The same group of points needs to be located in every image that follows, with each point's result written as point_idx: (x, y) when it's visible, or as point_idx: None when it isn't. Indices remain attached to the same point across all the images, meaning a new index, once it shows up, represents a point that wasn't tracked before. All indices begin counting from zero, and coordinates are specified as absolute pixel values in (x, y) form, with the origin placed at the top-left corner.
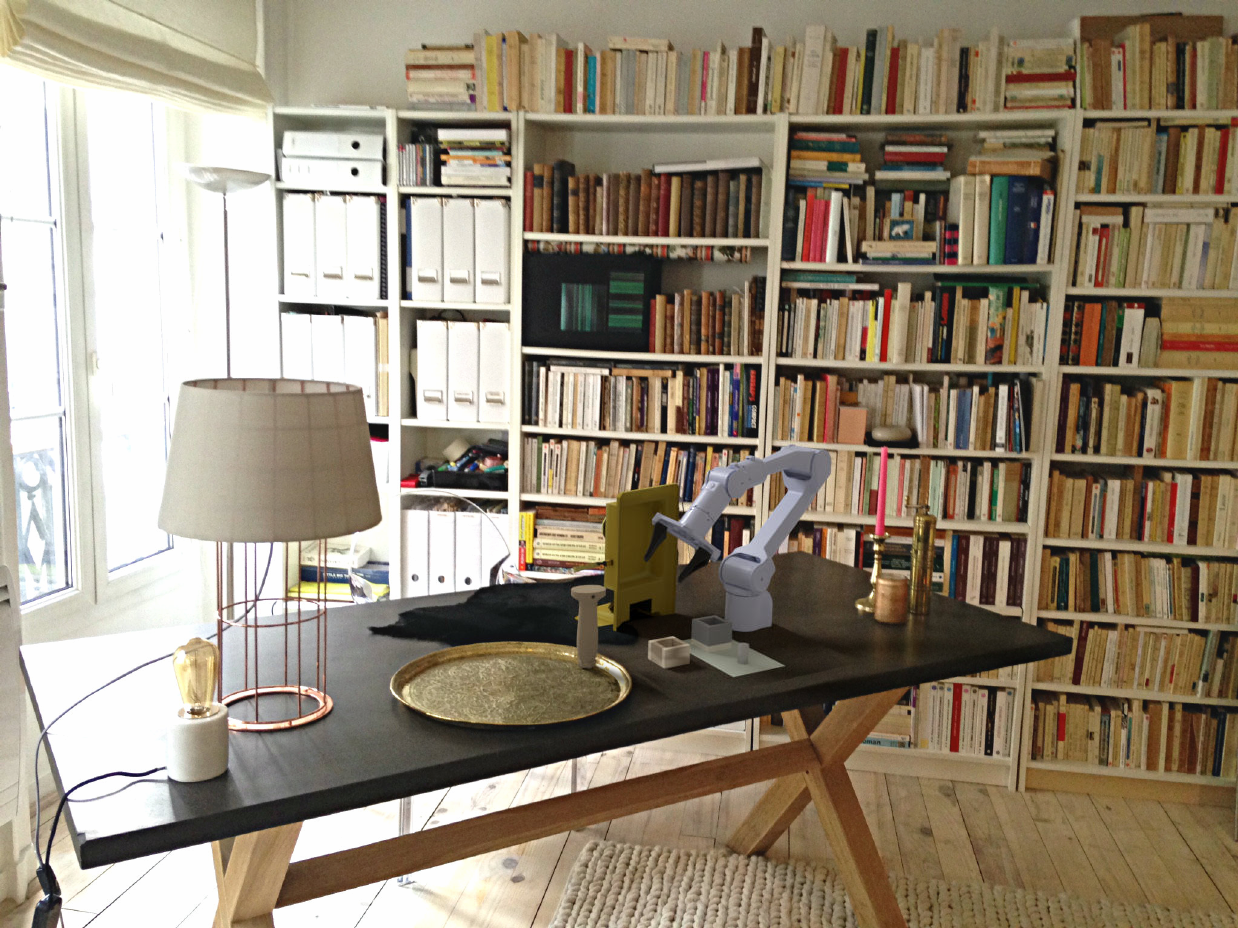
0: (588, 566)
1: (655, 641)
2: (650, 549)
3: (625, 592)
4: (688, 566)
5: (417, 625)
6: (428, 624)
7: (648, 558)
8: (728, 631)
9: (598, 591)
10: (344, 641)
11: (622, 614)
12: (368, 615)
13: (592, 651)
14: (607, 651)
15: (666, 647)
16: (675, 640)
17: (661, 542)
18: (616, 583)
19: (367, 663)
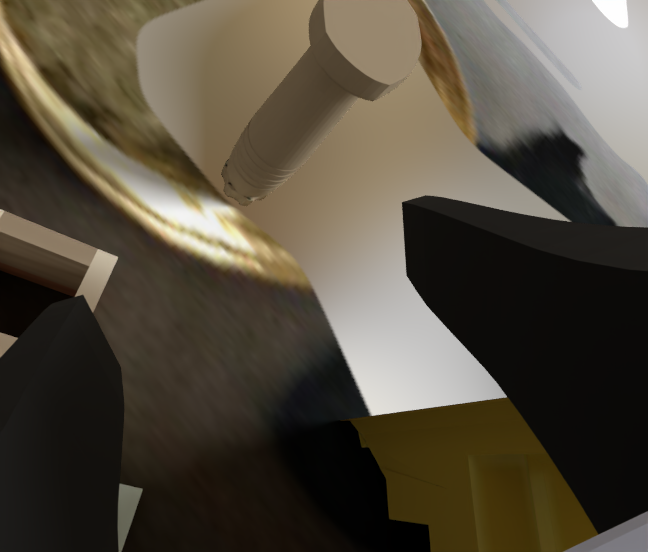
0: None
1: (89, 268)
2: (457, 211)
3: (465, 498)
4: (12, 376)
5: (570, 196)
6: (568, 210)
7: (413, 252)
8: None
9: (328, 3)
10: (551, 88)
11: (403, 480)
12: (620, 191)
13: (235, 145)
14: (280, 312)
15: None
16: (17, 338)
17: (561, 456)
18: (482, 402)
19: (475, 28)
